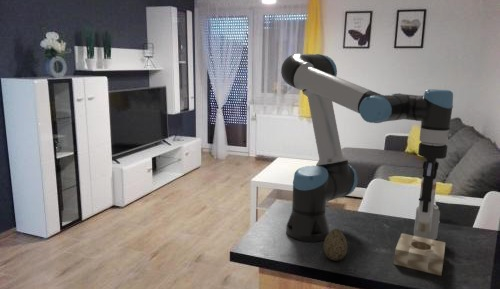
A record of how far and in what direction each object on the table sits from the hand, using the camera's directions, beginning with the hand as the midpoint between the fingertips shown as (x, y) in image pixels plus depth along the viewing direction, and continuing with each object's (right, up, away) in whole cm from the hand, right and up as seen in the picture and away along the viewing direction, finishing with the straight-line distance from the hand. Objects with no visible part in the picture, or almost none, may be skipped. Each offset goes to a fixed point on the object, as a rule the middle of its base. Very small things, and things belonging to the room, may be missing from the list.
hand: (424, 218), depth 117 cm
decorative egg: (-27, -13, +2) cm, 30 cm away
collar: (0, -13, +3) cm, 14 cm away
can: (+9, -11, +19) cm, 24 cm away
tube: (0, -4, +1) cm, 4 cm away
